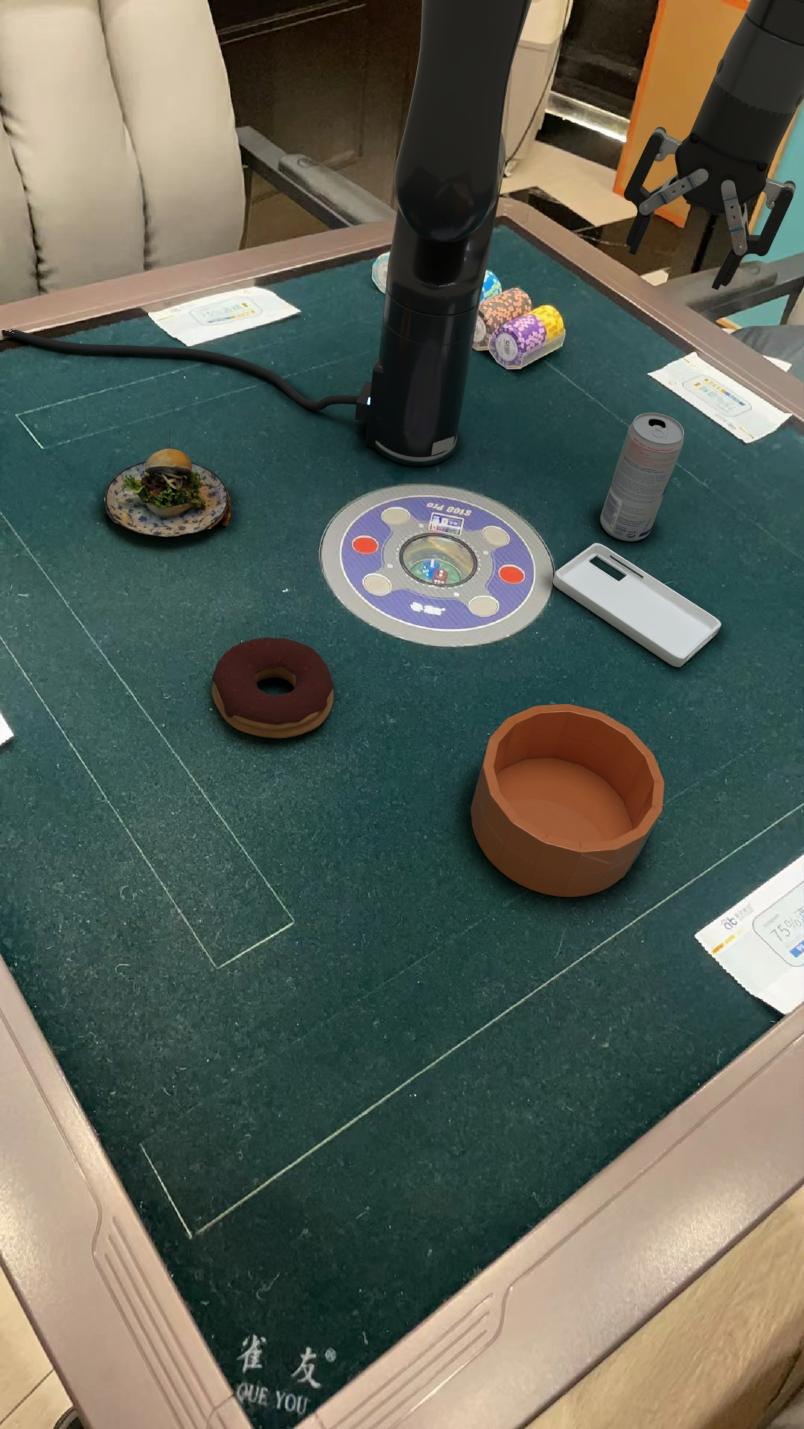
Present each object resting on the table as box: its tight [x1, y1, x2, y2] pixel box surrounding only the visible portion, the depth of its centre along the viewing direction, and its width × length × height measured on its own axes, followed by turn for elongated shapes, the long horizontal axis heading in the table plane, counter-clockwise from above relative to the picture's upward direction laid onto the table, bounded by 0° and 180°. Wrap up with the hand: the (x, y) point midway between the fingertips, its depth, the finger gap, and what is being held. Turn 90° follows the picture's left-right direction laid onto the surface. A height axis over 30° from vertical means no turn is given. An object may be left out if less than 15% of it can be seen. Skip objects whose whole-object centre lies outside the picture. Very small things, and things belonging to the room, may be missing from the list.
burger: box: [103, 428, 232, 538], centre depth 100 cm, size 12×12×8 cm
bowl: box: [470, 703, 665, 898], centre depth 81 cm, size 14×14×6 cm
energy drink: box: [599, 412, 685, 542], centre depth 104 cm, size 5×5×12 cm
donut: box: [211, 637, 335, 739], centre depth 87 cm, size 10×10×4 cm
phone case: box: [552, 542, 722, 668], centre depth 100 cm, size 7×1×15 cm
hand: (674, 268), depth 100 cm, fingers open, 8 cm apart
